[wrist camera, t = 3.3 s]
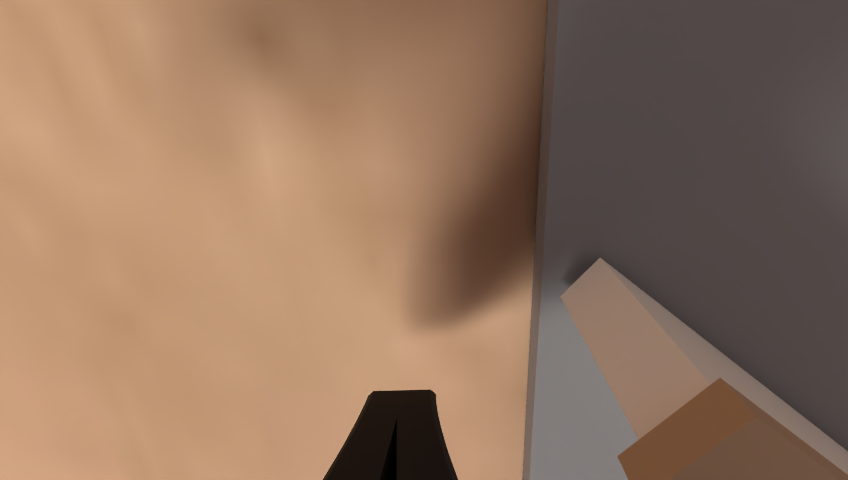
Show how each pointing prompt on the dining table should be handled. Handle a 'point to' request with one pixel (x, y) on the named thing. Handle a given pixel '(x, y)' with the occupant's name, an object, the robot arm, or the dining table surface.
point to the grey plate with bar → (691, 203)
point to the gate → (690, 395)
